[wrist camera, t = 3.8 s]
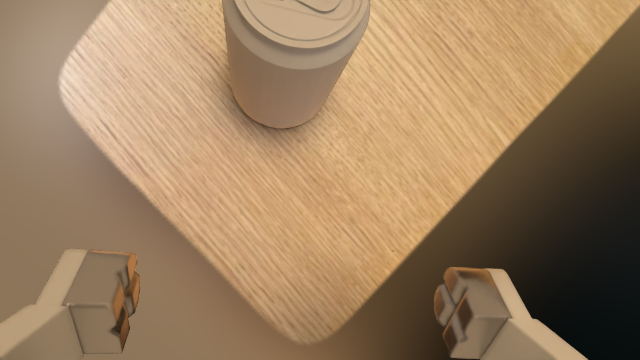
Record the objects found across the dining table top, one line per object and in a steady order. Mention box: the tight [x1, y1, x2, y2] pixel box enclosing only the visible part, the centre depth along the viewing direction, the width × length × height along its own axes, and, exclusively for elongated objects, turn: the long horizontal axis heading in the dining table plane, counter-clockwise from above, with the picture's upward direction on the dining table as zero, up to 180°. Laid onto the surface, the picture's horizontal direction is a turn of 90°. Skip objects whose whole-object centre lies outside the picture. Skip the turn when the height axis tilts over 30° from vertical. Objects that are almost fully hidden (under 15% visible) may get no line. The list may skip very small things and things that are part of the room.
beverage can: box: [222, 0, 370, 128], centre depth 23 cm, size 6×6×12 cm
